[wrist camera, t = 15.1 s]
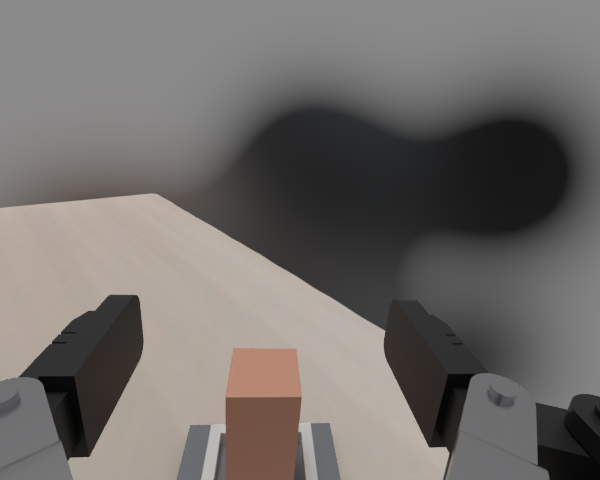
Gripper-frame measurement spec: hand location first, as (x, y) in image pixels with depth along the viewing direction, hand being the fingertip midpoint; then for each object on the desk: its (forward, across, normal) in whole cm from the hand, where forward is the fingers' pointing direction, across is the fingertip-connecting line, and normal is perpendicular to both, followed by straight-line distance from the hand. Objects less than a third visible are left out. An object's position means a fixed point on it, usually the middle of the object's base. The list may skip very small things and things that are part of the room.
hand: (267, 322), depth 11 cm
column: (+11, 0, +23) cm, 26 cm away
